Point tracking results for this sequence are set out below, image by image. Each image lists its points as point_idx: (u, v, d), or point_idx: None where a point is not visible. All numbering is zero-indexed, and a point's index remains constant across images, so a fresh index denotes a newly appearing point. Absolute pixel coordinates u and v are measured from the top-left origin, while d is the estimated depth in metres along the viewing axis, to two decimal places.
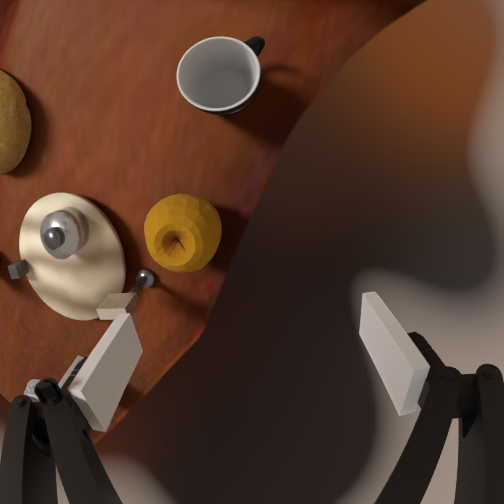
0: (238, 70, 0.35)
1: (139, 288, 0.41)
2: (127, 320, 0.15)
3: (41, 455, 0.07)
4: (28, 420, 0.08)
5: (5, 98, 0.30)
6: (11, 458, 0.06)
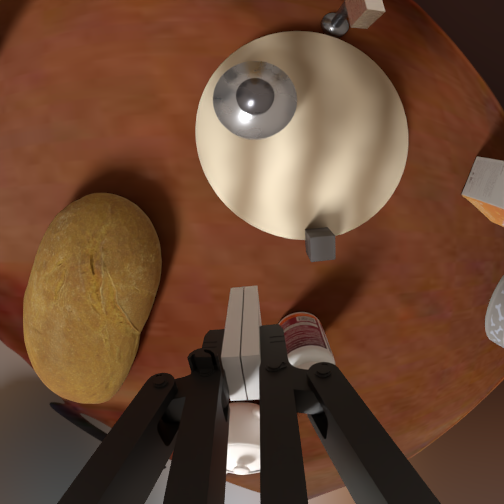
0: None
1: (341, 6, 0.21)
2: (243, 292, 0.17)
3: (159, 443, 0.09)
4: (161, 406, 0.09)
5: (48, 231, 0.27)
6: (118, 442, 0.08)
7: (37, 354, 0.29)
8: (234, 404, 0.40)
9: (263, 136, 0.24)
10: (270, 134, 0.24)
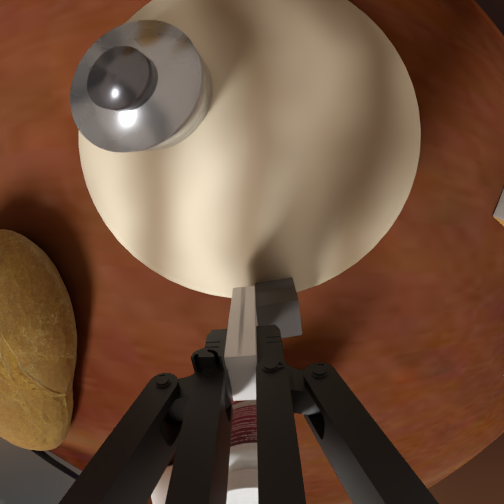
0: None
1: None
2: (245, 292, 0.17)
3: (162, 444, 0.09)
4: (164, 406, 0.09)
5: None
6: (121, 442, 0.08)
7: None
8: None
9: (146, 145, 0.13)
10: (157, 139, 0.13)
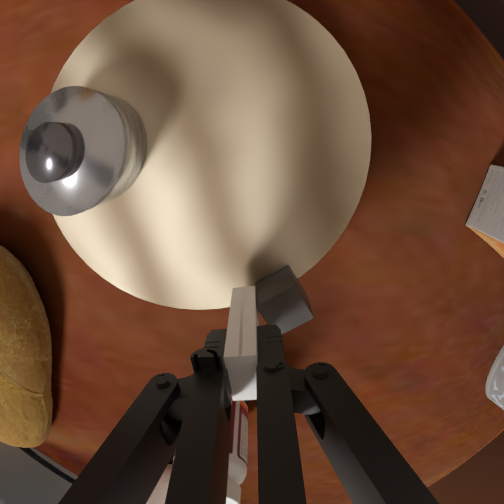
0: None
1: None
2: (245, 292, 0.17)
3: (161, 444, 0.09)
4: (163, 406, 0.09)
5: None
6: (120, 442, 0.08)
7: None
8: None
9: (96, 198, 0.13)
10: (103, 189, 0.13)
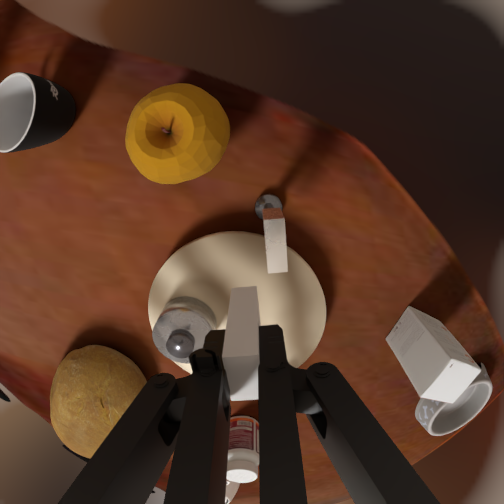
0: None
1: None
2: (244, 292, 0.17)
3: (160, 444, 0.09)
4: (162, 406, 0.09)
5: (65, 371, 0.36)
6: (119, 442, 0.08)
7: (64, 435, 0.38)
8: None
9: None
10: None
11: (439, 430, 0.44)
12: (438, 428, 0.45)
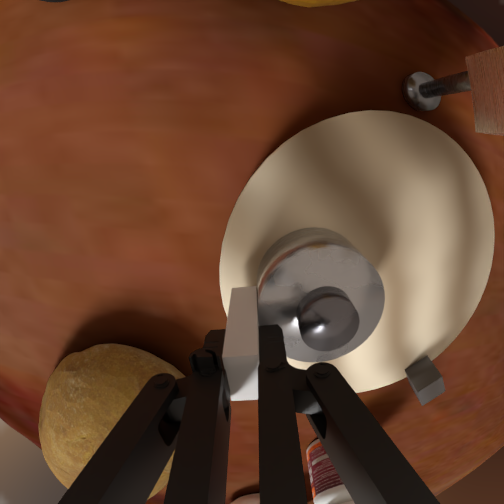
0: None
1: None
2: (244, 292, 0.17)
3: (160, 443, 0.09)
4: (162, 406, 0.09)
5: (57, 390, 0.20)
6: (119, 442, 0.08)
7: (65, 482, 0.21)
8: (259, 499, 0.32)
9: (352, 348, 0.16)
10: (361, 342, 0.16)
11: None
12: None
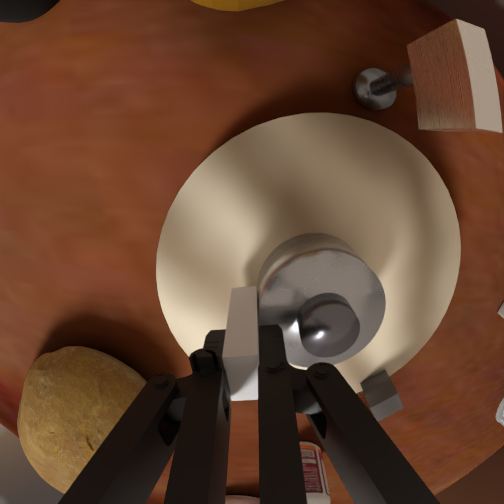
0: None
1: None
2: (244, 292, 0.17)
3: (160, 443, 0.09)
4: (162, 406, 0.09)
5: (30, 387, 0.20)
6: (119, 442, 0.08)
7: (41, 474, 0.21)
8: (229, 501, 0.32)
9: (350, 356, 0.16)
10: (358, 350, 0.16)
11: None
12: None
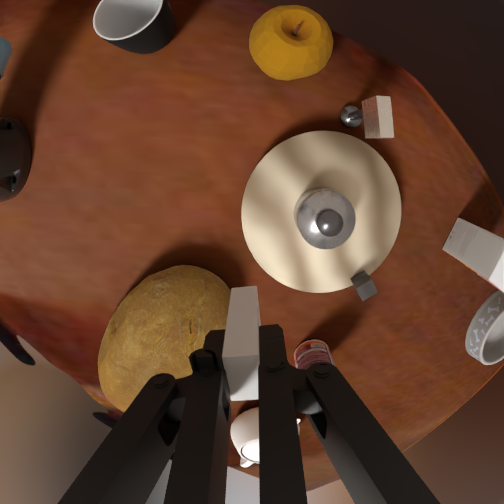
0: (133, 25, 0.31)
1: (359, 109, 0.32)
2: (244, 292, 0.17)
3: (160, 443, 0.09)
4: (162, 406, 0.09)
5: (144, 294, 0.39)
6: (119, 442, 0.08)
7: (119, 384, 0.40)
8: None
9: (341, 243, 0.35)
10: (345, 240, 0.35)
11: (487, 359, 0.47)
12: (486, 357, 0.47)
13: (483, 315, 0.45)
